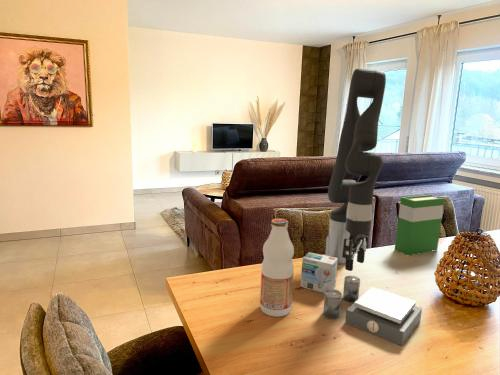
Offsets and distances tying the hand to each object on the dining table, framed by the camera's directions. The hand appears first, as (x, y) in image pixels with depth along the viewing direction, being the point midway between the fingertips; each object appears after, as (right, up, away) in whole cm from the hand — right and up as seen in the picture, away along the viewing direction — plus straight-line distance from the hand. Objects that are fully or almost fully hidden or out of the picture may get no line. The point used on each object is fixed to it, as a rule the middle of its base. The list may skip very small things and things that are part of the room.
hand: (354, 266), depth 119 cm
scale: (+5, -14, -10) cm, 18 cm away
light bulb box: (-10, -10, +10) cm, 17 cm away
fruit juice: (-26, -12, -5) cm, 29 cm away
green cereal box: (+41, -3, +48) cm, 63 cm away
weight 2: (-1, -11, +3) cm, 12 cm away
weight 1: (-9, -13, -7) cm, 17 cm away
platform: (+6, -9, -11) cm, 15 cm away
